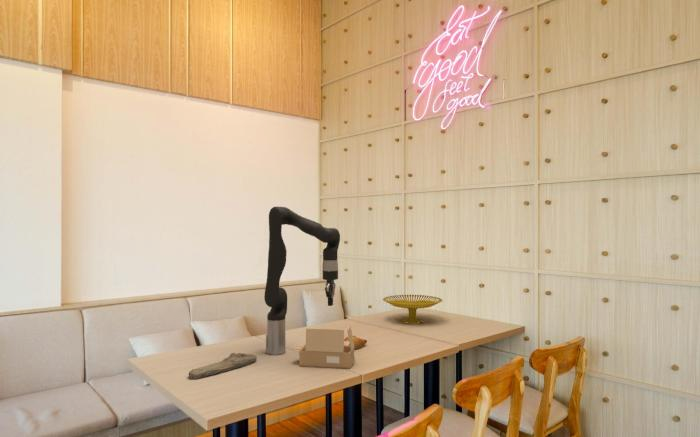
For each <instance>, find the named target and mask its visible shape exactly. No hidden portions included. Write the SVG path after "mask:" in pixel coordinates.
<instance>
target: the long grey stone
mask: <svg viewBox="0 0 700 437" xmlns="http://www.w3.org/2000/svg"><path fill="white" fill-rule="evenodd" d="M257 358H258V357H257V355H256V354H254V353H253V354H252V353H250V354H249V353H248V354H247V353H245V352H243V353H241V352H239V353H238V352H237V353H235V352H231V353H230V354H229V356H228V357H225V358H224V359H222V360H221V361H218V362H214V363H211V364H207V365H204V366H200V367H198V368H192V369H191V370H189V372H188V378H189V379H190V380H199V379H201V378H205V377H210V376H214V375H215V374H216V375H218V374H223V373H225V372H226V373H227V372H230V371H231V370H234V369H238V368H242V367H244V366H249V365H250V364H252V363H255V362H256V361H257ZM222 372H223V373H222Z"/></svg>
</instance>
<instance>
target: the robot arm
mask: <svg viewBox="0 0 700 437" xmlns="http://www.w3.org/2000/svg"><path fill="white" fill-rule="evenodd" d="M283 225H284V226H285V225H287V226H288V225H289V226H293V227H296V228H298V230H300V231H301V232H303V233H304V234H307V235H309V236H312V237H313V238H314V237H315V238H316V239H317V240H318V241H320V242H323V243H326V247H324V248H323V250H322V266H321V267H322V280H325V281H326V283H325V287H324V290H325V297H326V298H327V306H329V307H332V306H333V305H334V297H335V292H336V285H337V284H336V282H335V281H336V280H338V279H339V262H338V249H339V245H340V241H341V235H340V231H339V229H337V228H335V227H324V226H323V225H322V224H321V223H319V222H316V221H314V220H311V219H309V218H307V217H304V216H301V215H299V214H298V213H297V212H294V211H293V210H291V209H290V208H288V207H286V206H272V208H271V209H270V210H269V213H268V228H269V229H268V230H269V232H268V234H269V236H268V237H269V238H268V254H267V273H266V274H267V275H266V284H265V290H264V294H263V296H264V303H265V305H266V306H268V307H269V308H270V310H269V312H268V313H267V316H266V319H267V321H266V324H267V327H266V328H267V330H266V334H265V354H268V355H274V356H275V355H276V356H278V355H283V354H285V353H286V350H287V349H286V315H287V312H288V294H287V290H286V289H285V288H283V287H280V283H281V282H280V281H281V277H282V274H283V272H284V269H285V267H286V263H287V246H286V244H285V242H284V239H283V236H282V235H283V234H282V229H283V228H282V226H283Z"/></svg>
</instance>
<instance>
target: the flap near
mask: <svg viewBox="0 0 700 437" xmlns="http://www.w3.org/2000/svg"><path fill="white" fill-rule="evenodd" d="M344 339H345V329H330V328H329V329H326V328H305V345H306V346H305V351H322V352H344Z"/></svg>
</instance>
